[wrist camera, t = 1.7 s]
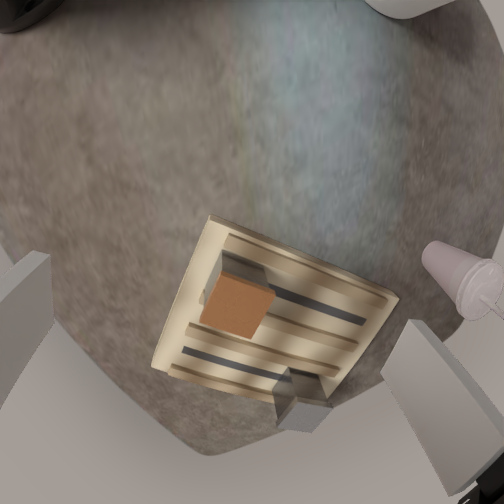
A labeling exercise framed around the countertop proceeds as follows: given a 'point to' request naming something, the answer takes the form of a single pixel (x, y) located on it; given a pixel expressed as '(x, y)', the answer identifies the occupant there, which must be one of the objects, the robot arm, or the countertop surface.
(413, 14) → the mug
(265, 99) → the countertop surface
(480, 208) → the countertop surface
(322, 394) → the fader
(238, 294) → the block
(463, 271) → the smoothie
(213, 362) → the beige flat board
